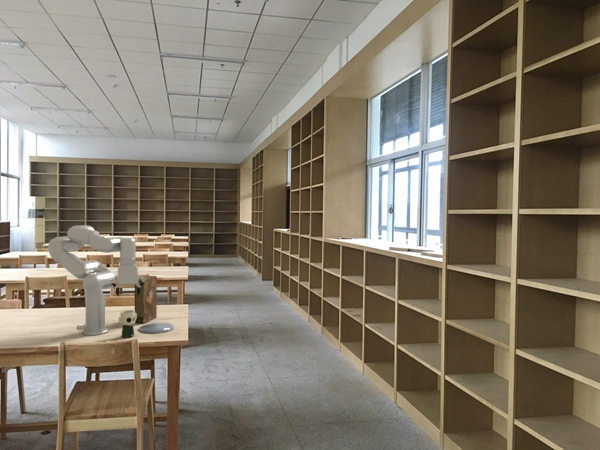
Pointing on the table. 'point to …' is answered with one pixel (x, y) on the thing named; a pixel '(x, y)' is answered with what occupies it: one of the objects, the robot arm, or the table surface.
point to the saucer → (156, 328)
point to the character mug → (127, 322)
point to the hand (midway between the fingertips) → (128, 295)
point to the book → (146, 300)
